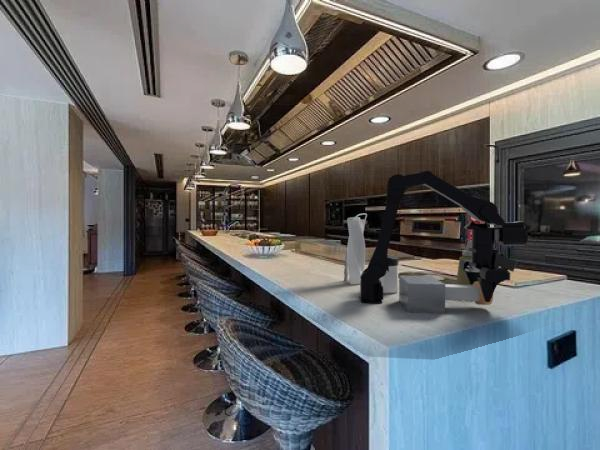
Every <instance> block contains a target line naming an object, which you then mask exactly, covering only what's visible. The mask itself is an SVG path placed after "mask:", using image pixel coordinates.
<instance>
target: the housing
mask: <svg viewBox="0 0 600 450" xmlns="http://www.w3.org/2000/svg"><path fill="white" fill-rule="evenodd" d="M445 284H446V283H444V282H442V281H440V279H437V278H436V277H434V276H433V275H401V274H400V275H399V274H398V301H399V302H400V303H401V305H402V306H403V308H404V309H405V311H406V312H407V313H422V314H423V313H424V314H427V313H428V314H446V300H445Z"/></svg>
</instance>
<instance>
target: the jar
mask: <svg viewBox="0 0 600 450" xmlns="http://www.w3.org/2000/svg"><path fill="white" fill-rule="evenodd" d="M391 256H392V255H391ZM379 280H380V281H381V285H382V286H383V294H397V293H398V292H399V257H398V256H394V255H393V256H392V260H391V262H390V264H389V271H386V274H385V275H384V276H383V277H381V278H380V279H379Z"/></svg>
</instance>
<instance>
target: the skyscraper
mask: <svg viewBox="0 0 600 450" xmlns="http://www.w3.org/2000/svg"><path fill="white" fill-rule="evenodd" d="M363 215H365V218H364V219H361V217H359V216H363ZM367 217H368V214H367V213H364V212H363V213H359V214H357V215H356V216H353V217H348V218H347V219H346V220H347V221H346V222H347V228H348V235H349V236H348V240H347V248H346V249H347V250H346V251H345V258H344V259H345V260H344V272H343V276H344V277H343V282H344V283H345V285H346V286H347V285H348V286H350V285H355V286H356V285H360V280H361V278H360V277H361V274H362V272H363V271H364V270H365V265H366V256H367V255H366V250H367V249H366V242H365V241H366V240H365V235H364V231H365V227H366V222H367V221H366V219H367Z"/></svg>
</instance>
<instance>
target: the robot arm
mask: <svg viewBox="0 0 600 450" xmlns="http://www.w3.org/2000/svg"><path fill="white" fill-rule="evenodd" d="M421 186H422V187H423V186H426V187H427V188H429V189H430V190H432V191H434V192H435V193H437V194H439V195H441V196H443V197H445V198H446V199H447V200H449V201H451V202H452V203H454V204H455V205H457V206H458V207H460V208H461V209H462V210H463V211H464V212H465V213H466V214H468V216H470V217H471V218H472V219H473V220H475V221H477V222H484V223H475V222H474V221H473V220H470V221H469V222H468V224H466V225H465V226H464V227H463V228H464V229H466V230H471V241H472V248H469V251H471V252H472V259H471V260H462V261H461V262H460V269H462V270H465V268H466V271H463V273H464V274H465V276H466V278H467V280H468V282H469V284H470V285H473V283H474V282H475V281H479V284H480V287H481V290H482V293H483V296H484V299H485V302H490V301H491V298H492V295H493V296H494V293H495V290H496V288H497V286H498V285H499V284H500V283H503V282H505V281H511V272H512V273H514V271H515V268H516V266H517V264H518V261H517V260H514V259H512V258H509V257H506V254H505V253H501V252H500V251H499V250H498V249H496V248H495V243H496V242H497V243H499V245H500V246H509V247H510V246H516V247H517V246H519V247H525V246H526V245H527V243H528V241H529V240H528V239H529V234H528V232H527V227H526V226H525V221H513V222H512V221H511V222H510V221H509V222H508V221H507V222H506V221H505V220H504V218H503V217H501V215H500V214H499V212H498V206H497V205H496V204H495V203H494V202H492V201H490V200H486V199H485V198H482V197H478V196H475V195H472V194H469V193H466V192H465V191H464V190H462V189H460V188H458V187H457V186H455V185H453V184H452V183H449V182H448V181H446V180H445V179H443V178H441V177H440V176H438V175H436V174H434V173H433V172H432V171H430V170H424V171H421V172H418V173H411V174H407V175H406V174H405V175H402V174H400V173H399V174H392V176H390V177H389V179H388V180H387V186H386V187H387V188H386V205H385V209H384V213H383V217H382V221H381V225H380V230H379V235H378V238H377V243H376V245H375V246H376V247H375V249H374V251H373V253H372V255H371V258H370V260H369V262H368V265H367V267H366V268H364V271H363V272H362V274H361V277H360V278H361V280H360V286H359V288H360V289H359V292H360V293H359V294H360V295H359V300H360V303H364V304H365V303H366V304H368V303H370V304H373V303H374V304H382V303H383V300H384V293H383V286H382V285H381V281H380V280H379V279H380V278H381V277H383V276H384V275H385V274H386V271H389V264H390V262H391V260H392V255H388V254H389V253H388V252H389V251H388V249H389V245H390V243H391V242H390V241H391V237H392V233H393V228H394V226H395V225H394V224H395V222H396V221H395V220H396V216H397V214H398V213H397V212H398V208H399V206H400V203H401V201H402V199H403V197H404V195H405V192H406V190H411V189H414V188H417V187H418V188H419V187H421ZM488 225H490V226H488ZM491 225H492V227H491ZM493 226H495V227H493Z"/></svg>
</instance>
